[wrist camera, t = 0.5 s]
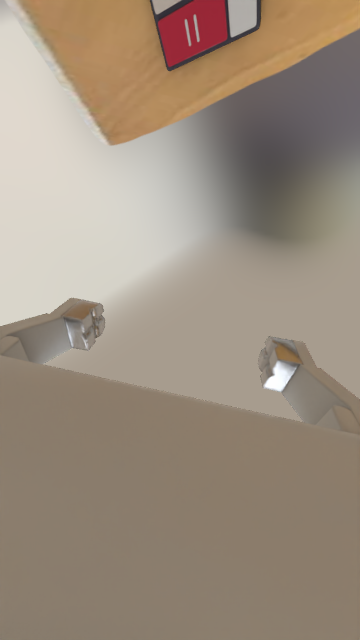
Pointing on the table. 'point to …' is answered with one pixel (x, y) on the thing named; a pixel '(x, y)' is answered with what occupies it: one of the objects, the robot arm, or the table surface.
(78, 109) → the table surface
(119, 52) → the table surface
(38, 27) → the table surface
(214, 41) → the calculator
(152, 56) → the table surface
